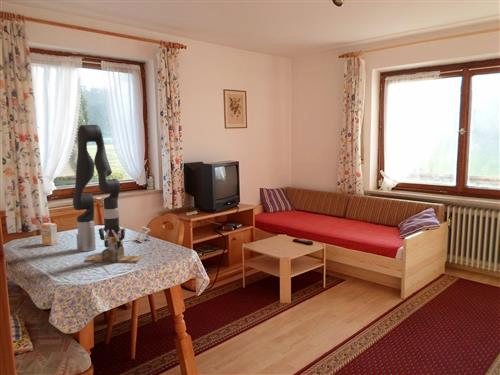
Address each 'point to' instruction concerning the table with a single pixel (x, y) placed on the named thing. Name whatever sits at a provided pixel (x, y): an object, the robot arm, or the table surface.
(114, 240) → the canned food
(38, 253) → the table surface
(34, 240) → the table surface
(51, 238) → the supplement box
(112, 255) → the hinge
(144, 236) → the portable electronic device stand
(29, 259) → the table surface
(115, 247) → the hinge pin
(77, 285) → the table surface
